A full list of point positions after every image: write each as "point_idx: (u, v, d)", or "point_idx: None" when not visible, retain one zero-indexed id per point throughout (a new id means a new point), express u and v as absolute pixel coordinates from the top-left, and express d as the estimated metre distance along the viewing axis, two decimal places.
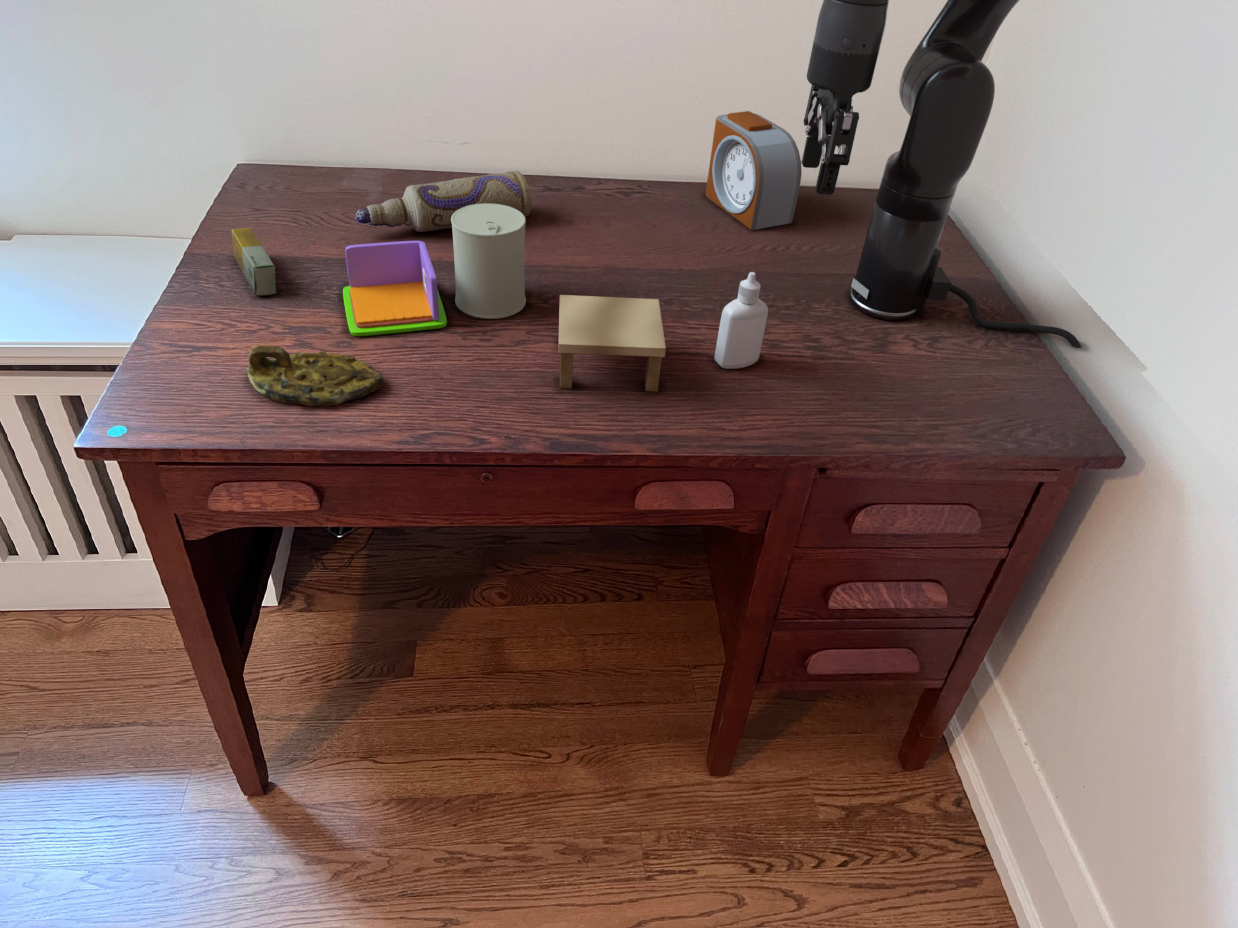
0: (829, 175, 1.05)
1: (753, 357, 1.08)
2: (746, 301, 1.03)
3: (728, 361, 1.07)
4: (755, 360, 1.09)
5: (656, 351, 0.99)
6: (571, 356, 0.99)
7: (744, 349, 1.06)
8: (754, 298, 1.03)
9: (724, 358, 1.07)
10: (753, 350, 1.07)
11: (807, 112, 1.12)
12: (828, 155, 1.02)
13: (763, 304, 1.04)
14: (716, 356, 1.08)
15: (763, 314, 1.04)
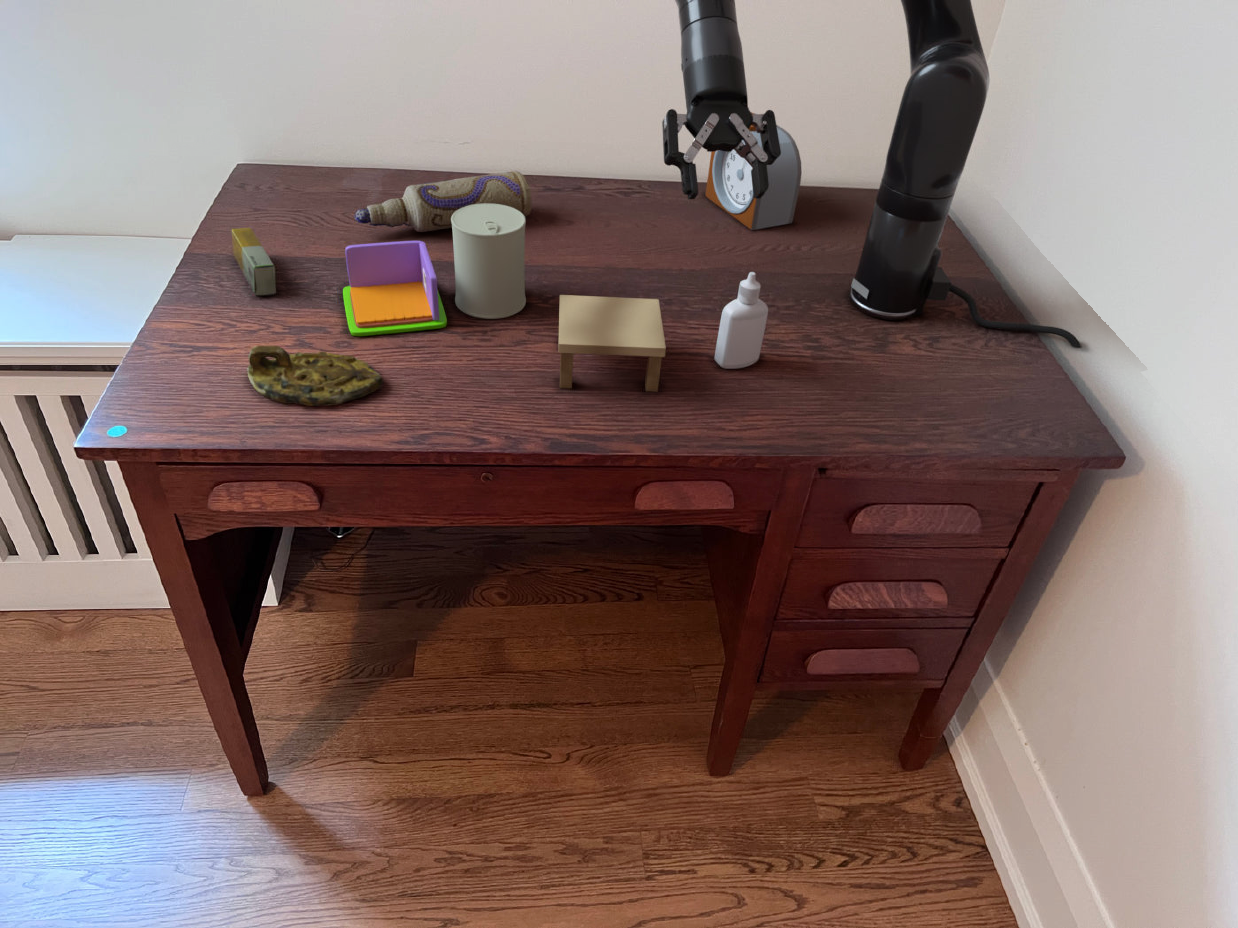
0: (682, 175, 1.07)
1: (753, 357, 1.08)
2: (746, 301, 1.03)
3: (728, 361, 1.07)
4: (755, 360, 1.09)
5: (656, 351, 0.99)
6: (571, 356, 0.99)
7: (744, 349, 1.06)
8: (754, 298, 1.03)
9: (724, 358, 1.07)
10: (753, 350, 1.07)
11: (766, 151, 1.10)
12: None
13: (763, 304, 1.04)
14: (716, 356, 1.08)
15: (763, 314, 1.04)
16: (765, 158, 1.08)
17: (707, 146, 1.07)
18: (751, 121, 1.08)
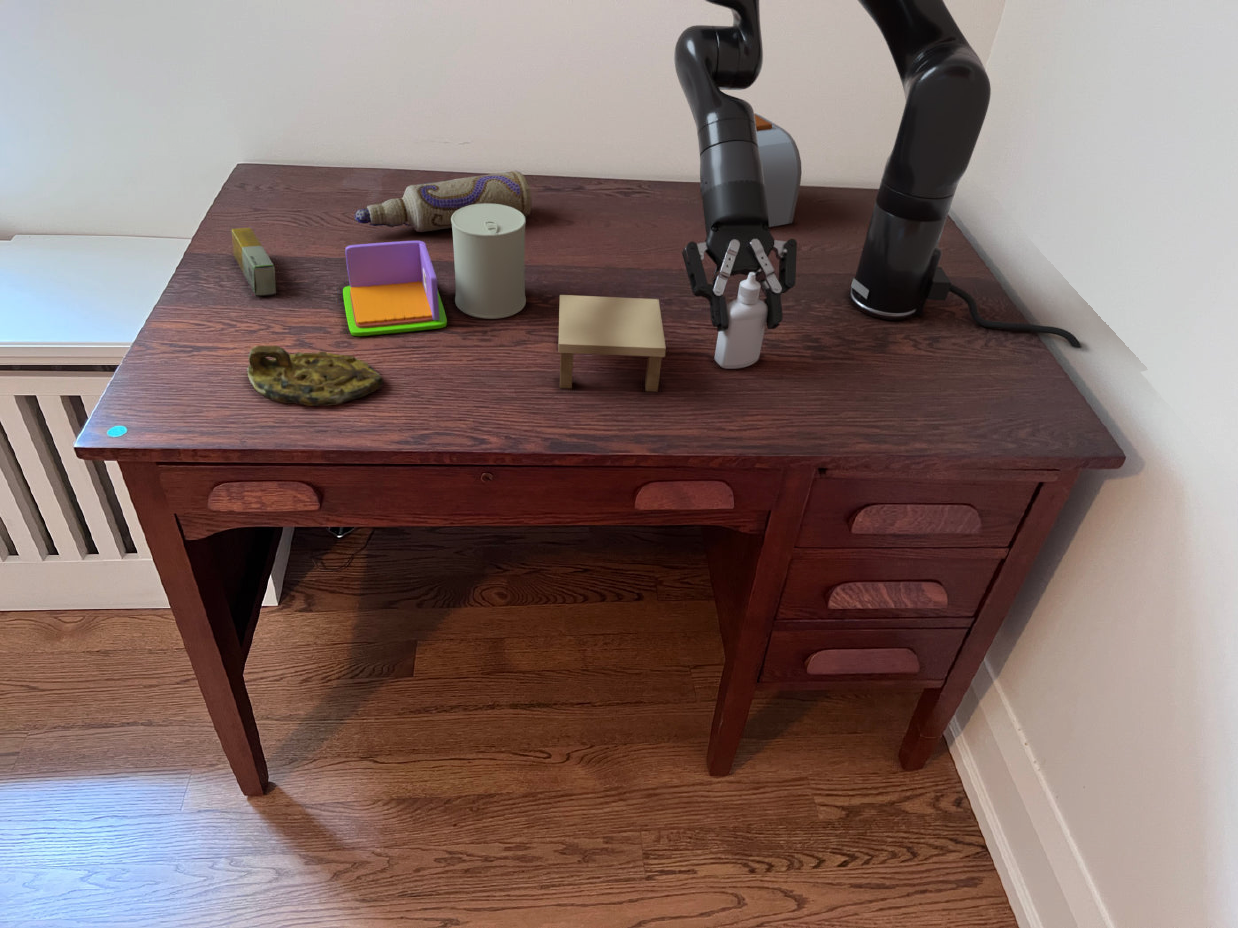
0: (711, 308, 1.04)
1: (753, 357, 1.08)
2: (746, 301, 1.03)
3: (728, 361, 1.07)
4: (755, 360, 1.09)
5: (656, 351, 0.99)
6: (571, 356, 0.99)
7: (744, 349, 1.06)
8: (754, 298, 1.03)
9: (724, 358, 1.07)
10: (753, 350, 1.07)
11: None
12: None
13: (763, 304, 1.04)
14: (716, 356, 1.08)
15: (763, 314, 1.04)
16: (779, 290, 1.04)
17: None
18: (771, 246, 1.05)
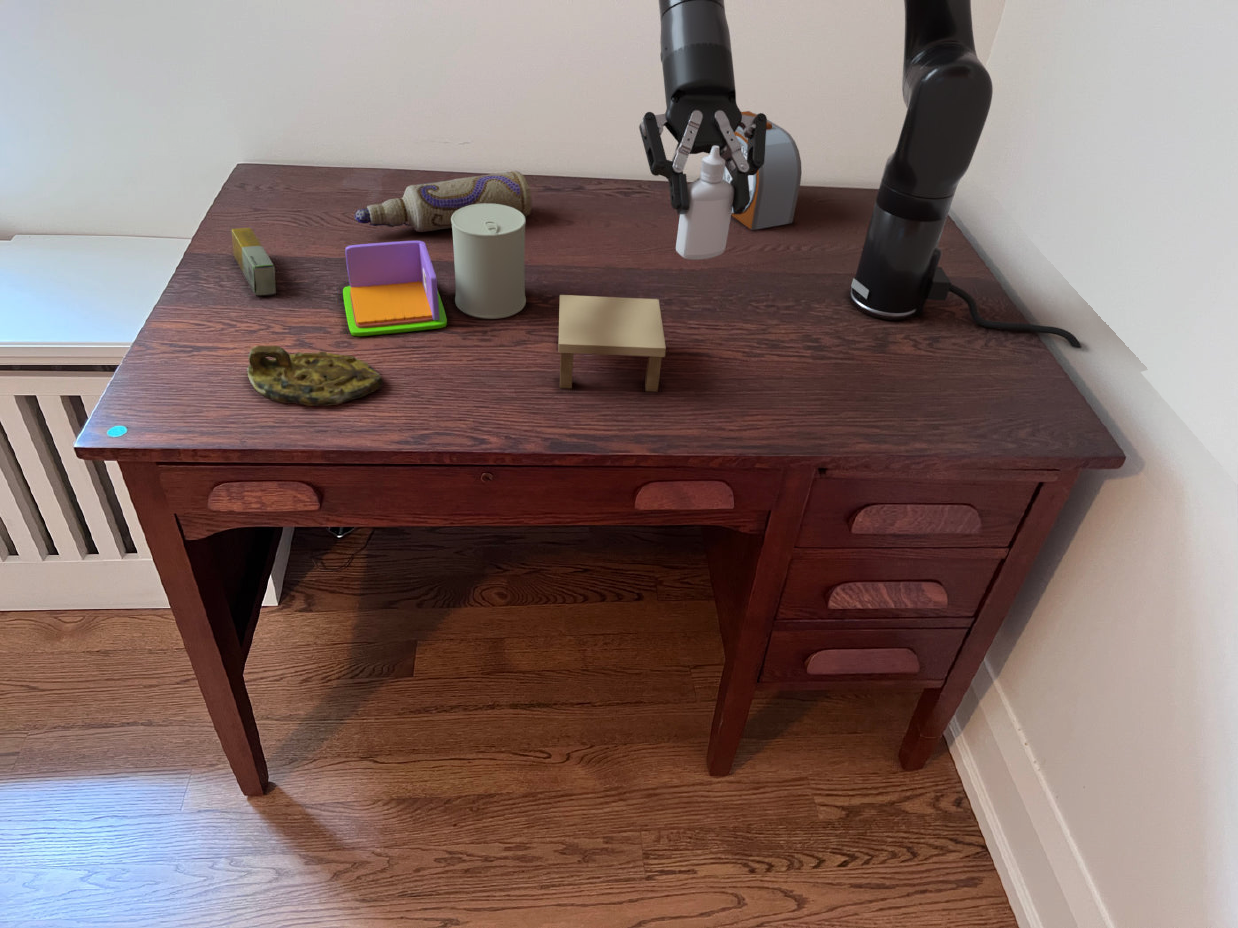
0: (671, 187, 0.94)
1: (718, 247, 0.98)
2: (709, 179, 0.92)
3: (690, 250, 0.97)
4: (721, 251, 0.99)
5: (656, 351, 0.99)
6: (571, 356, 0.99)
7: (708, 236, 0.96)
8: (718, 176, 0.92)
9: (686, 246, 0.96)
10: (717, 239, 0.97)
11: (750, 160, 0.97)
12: None
13: (728, 184, 0.94)
14: (677, 246, 0.98)
15: (728, 196, 0.94)
16: (746, 168, 0.94)
17: None
18: (739, 121, 0.95)
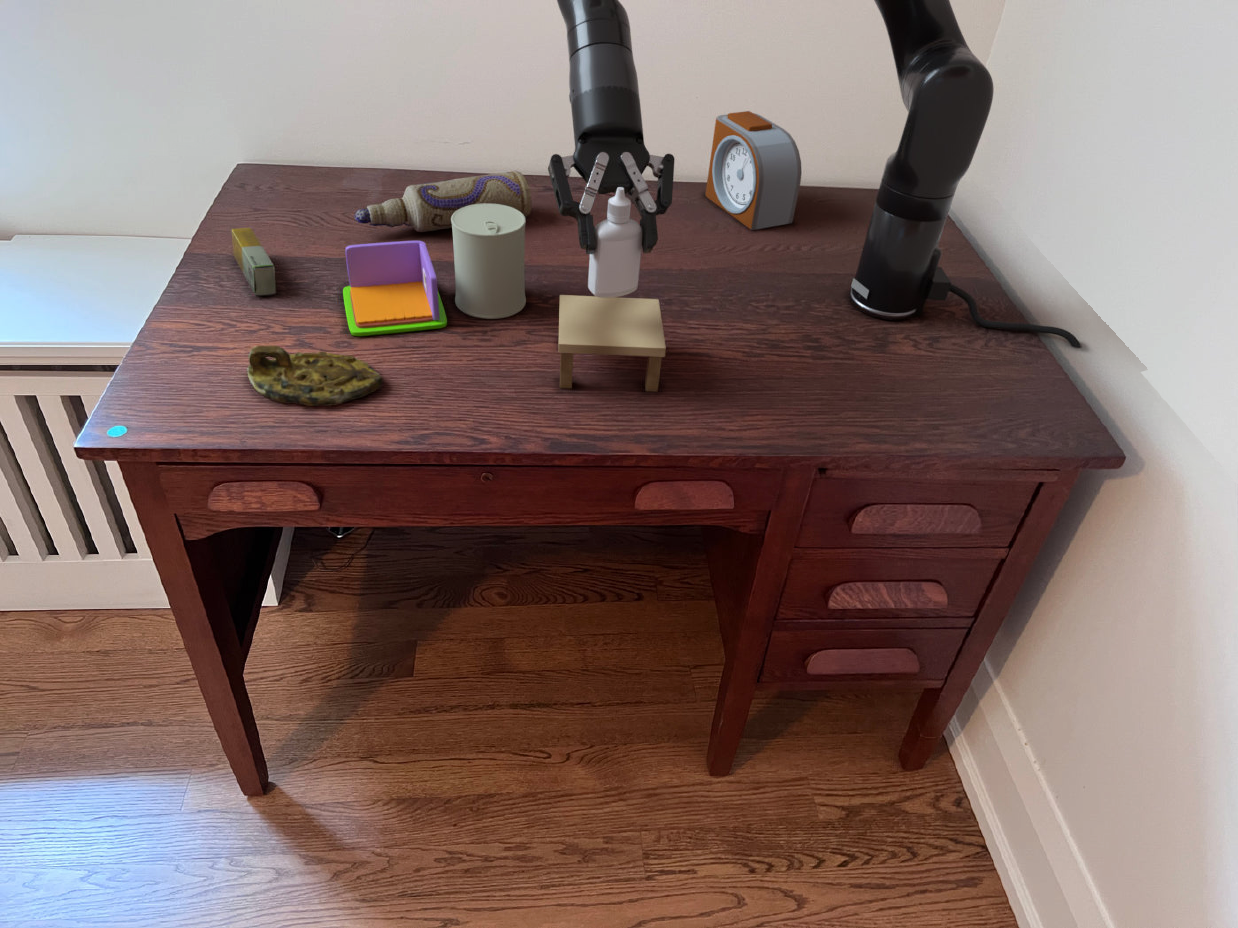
0: (578, 228, 0.95)
1: (630, 285, 0.99)
2: (615, 220, 0.94)
3: (601, 288, 0.98)
4: (633, 289, 1.00)
5: (656, 351, 0.99)
6: (571, 356, 0.99)
7: (617, 275, 0.97)
8: (624, 216, 0.93)
9: (596, 285, 0.97)
10: (628, 277, 0.98)
11: (659, 199, 0.98)
12: None
13: (636, 224, 0.95)
14: (589, 284, 0.99)
15: (636, 236, 0.95)
16: (653, 209, 0.95)
17: (597, 189, 0.95)
18: (646, 161, 0.96)
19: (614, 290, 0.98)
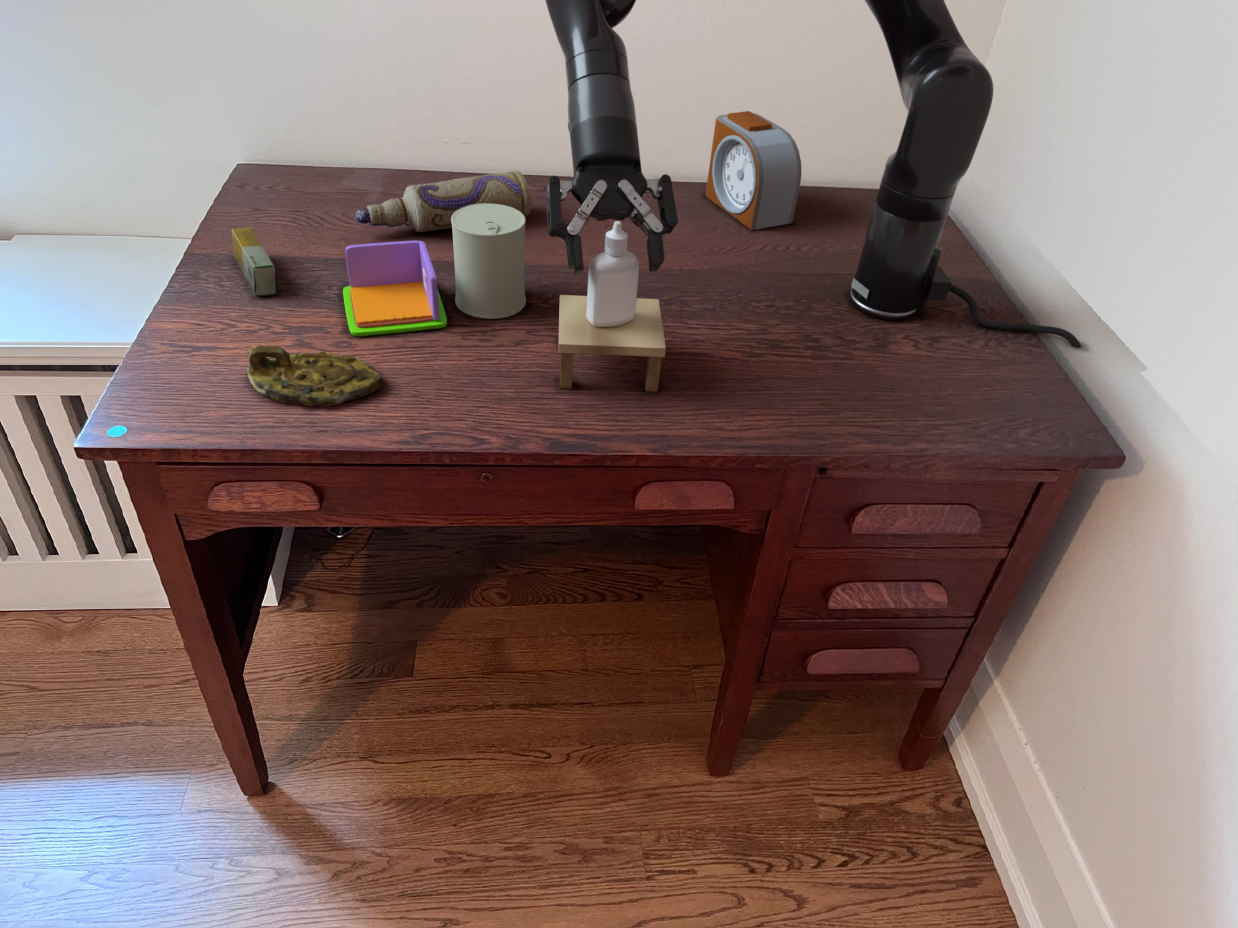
0: (567, 248, 0.96)
1: (627, 315, 1.01)
2: (612, 252, 0.96)
3: (599, 318, 1.00)
4: (630, 318, 1.02)
5: (656, 351, 0.99)
6: (571, 356, 0.99)
7: (615, 305, 1.00)
8: (621, 249, 0.96)
9: (594, 315, 1.00)
10: (625, 307, 1.01)
11: None
12: None
13: (633, 257, 0.98)
14: (587, 314, 1.01)
15: (633, 268, 0.98)
16: (660, 228, 0.97)
17: (596, 215, 0.97)
18: (645, 187, 0.98)
19: (612, 320, 1.01)
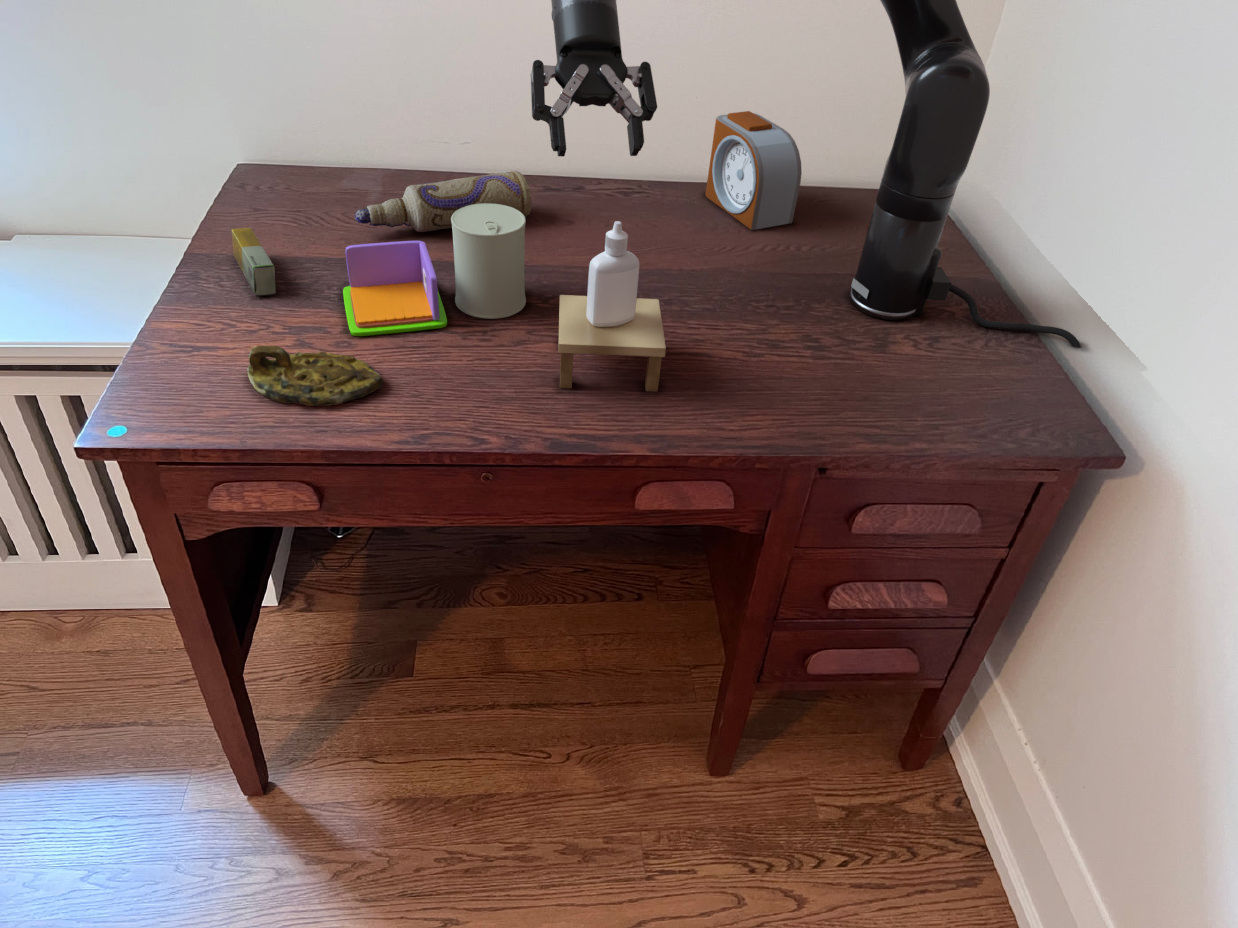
0: (550, 131, 1.00)
1: (627, 315, 1.01)
2: (612, 252, 0.96)
3: (599, 318, 1.00)
4: (630, 318, 1.02)
5: (656, 351, 0.99)
6: (571, 356, 0.99)
7: (615, 305, 1.00)
8: (621, 249, 0.96)
9: (594, 315, 1.00)
10: (625, 307, 1.01)
11: None
12: None
13: (633, 257, 0.98)
14: (587, 314, 1.01)
15: (633, 268, 0.98)
16: (640, 112, 1.01)
17: (578, 100, 1.01)
18: (625, 73, 1.02)
19: (612, 320, 1.01)
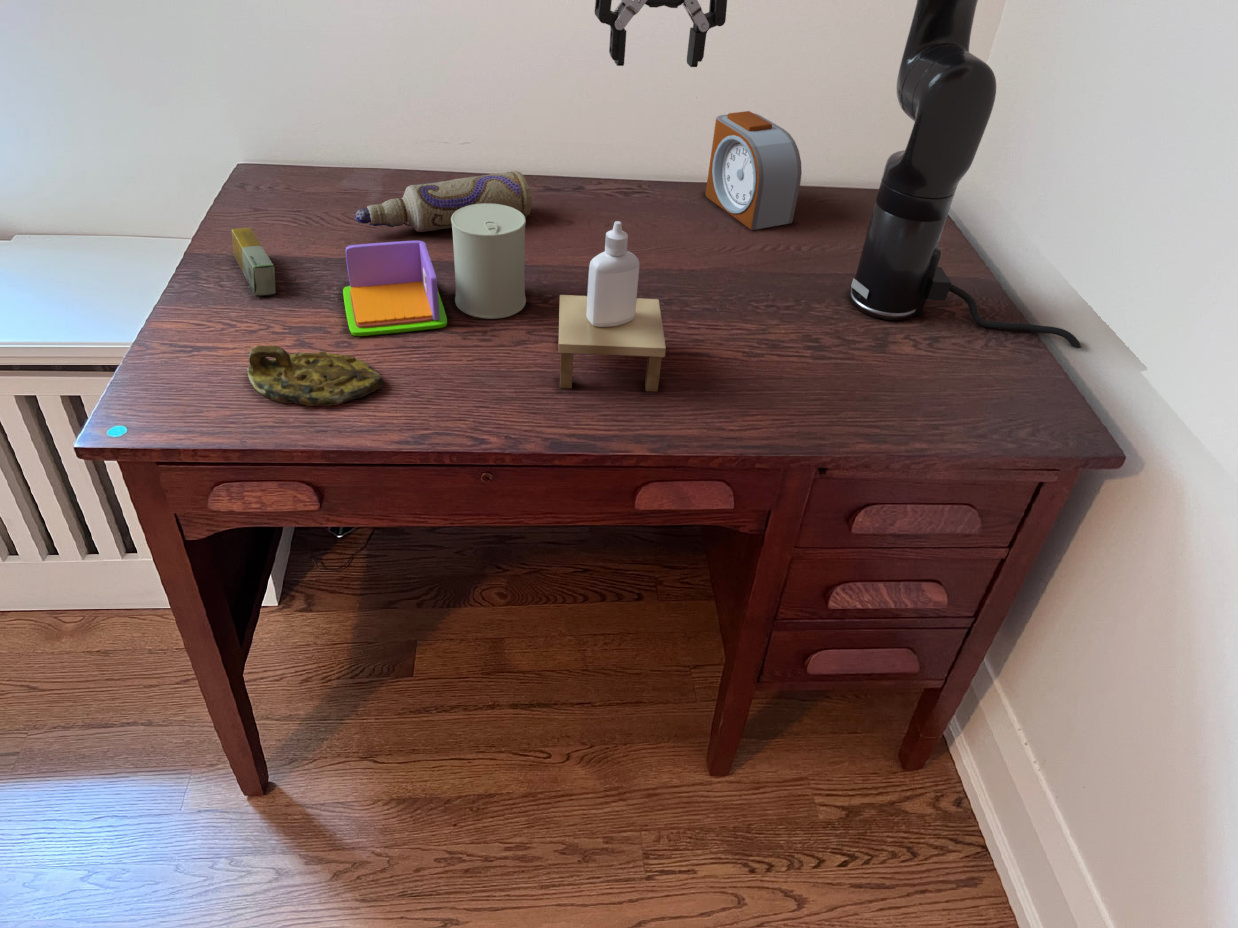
0: (611, 37, 0.97)
1: (627, 315, 1.01)
2: (612, 252, 0.96)
3: (599, 318, 1.00)
4: (630, 318, 1.02)
5: (656, 351, 0.99)
6: (571, 356, 0.99)
7: (615, 305, 1.00)
8: (621, 249, 0.96)
9: (594, 315, 1.00)
10: (625, 307, 1.01)
11: None
12: (599, 6, 0.96)
13: (633, 257, 0.98)
14: (587, 314, 1.01)
15: (633, 268, 0.98)
16: (706, 28, 0.97)
17: None
18: None
19: (612, 320, 1.01)
